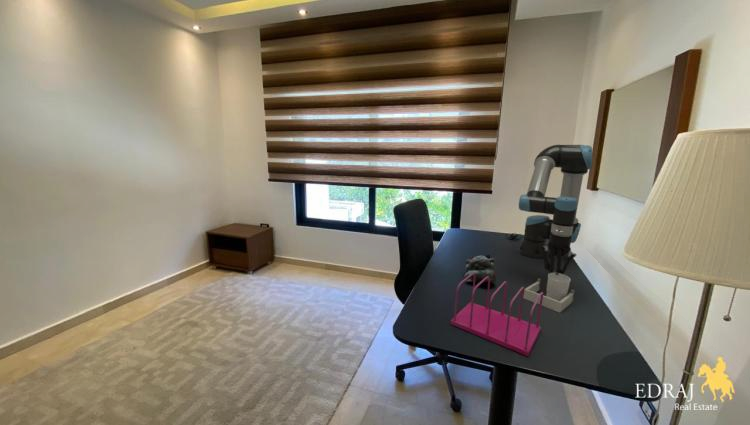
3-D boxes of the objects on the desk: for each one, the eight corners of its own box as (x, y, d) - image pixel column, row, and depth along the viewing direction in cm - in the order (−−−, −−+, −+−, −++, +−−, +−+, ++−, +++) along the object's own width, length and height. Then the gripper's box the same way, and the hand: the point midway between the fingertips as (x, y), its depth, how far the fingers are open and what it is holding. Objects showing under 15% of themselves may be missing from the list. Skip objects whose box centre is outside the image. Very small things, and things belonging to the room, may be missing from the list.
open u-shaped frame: (537, 289, 132) (538, 278, 131) (572, 302, 122) (574, 290, 120) (522, 298, 124) (524, 286, 123) (559, 312, 113) (562, 300, 112)
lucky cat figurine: (458, 281, 137) (459, 252, 141) (470, 284, 146) (470, 256, 149) (490, 282, 127) (490, 250, 131) (501, 285, 135) (500, 255, 139)
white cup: (571, 301, 121) (575, 280, 118) (556, 305, 119) (560, 283, 116) (554, 291, 128) (558, 271, 126) (540, 295, 126) (543, 274, 123)
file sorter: (527, 357, 88) (535, 310, 85) (450, 324, 104) (453, 283, 101) (540, 331, 102) (547, 289, 98) (469, 305, 117) (473, 268, 114)
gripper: (540, 232, 125) (533, 283, 130) (575, 239, 115) (566, 295, 120) (547, 229, 130) (540, 279, 135) (582, 236, 120) (572, 289, 125)
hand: (552, 286), depth 128 cm, fingers closed
